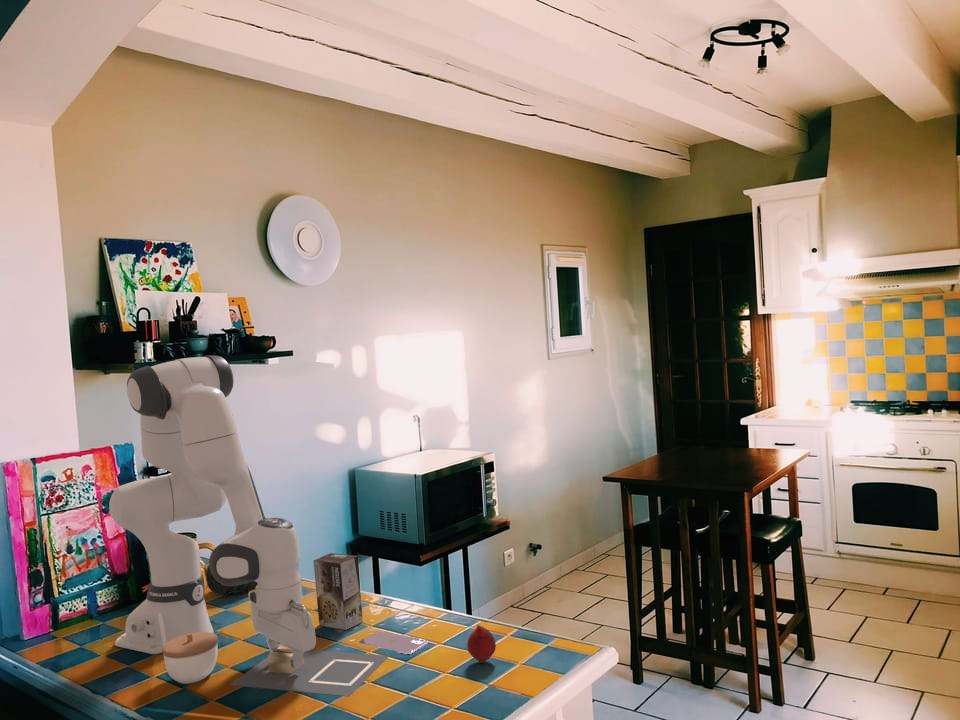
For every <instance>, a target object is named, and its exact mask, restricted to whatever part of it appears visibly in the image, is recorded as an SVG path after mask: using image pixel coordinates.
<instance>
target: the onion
mask: <svg viewBox="0 0 960 720" xmlns="http://www.w3.org/2000/svg"><path fill="white" fill-rule="evenodd" d="M466 645H467V646H466V647H467V651H468V653H469V654H470V656H471V657H472V658H473V659H475V660H476V661H478V662H479V663H481V664H482V663H485V662H486V661H488V660H489V659H490V658H491V657H492V655H494V654H495V651H496V649H497V647H496V646H497V645H496V639H495V637H494V635H493V634H492V633H491V632H490V630H489V629H487V628H485V627H484V626H483V625H481V624H480V623H477V624H476V628H475V629H473V631H472V632H471V633H470V634H469V635H468V638H467V644H466Z"/></svg>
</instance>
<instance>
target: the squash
mask: <svg viewBox="0 0 960 720" xmlns="http://www.w3.org/2000/svg"><path fill="white" fill-rule="evenodd" d="M205 581H206V584H207V587H208V589H209V590H210V591H211V592H212V593H213V594H216V595H221V596H226V595H229V594H230V593H231V594H236V593H242V592H249V591H252V590H254V589H256V587H258V584H257V582H255V581H252V582H250V583H246V584H242V585H237V586H225V585H223V584H221V583H219V582H218V581H217V580H216V579H215V578H214V577H213V575H212V573H211V571H210V567H209V565H208V566H207V568H206V574H205Z"/></svg>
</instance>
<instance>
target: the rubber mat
mask: <svg viewBox="0 0 960 720" xmlns="http://www.w3.org/2000/svg"><path fill="white" fill-rule="evenodd" d="M389 657H390V655H385V654H383V655H382V654H371V653H360V652H359V653H357V652H344V651H343V652H342V651H332V650H331V651H330V650H320V649H319V650H318V649H316V650H315V649H311V650H309V651H307V652H304V654H303V659H304V664H303V665H302V667H300V668H298V669H297V670H296V671H295V672H294V673H292V674H291V673H279V672H269V663H268V656H267V657H265V658H264V659H262V660H261V661H260V662H258V663H257V664H256V665H255V666H253V667H252V668H250V669H249V670H248V671H246V672H245V673H244V674H242V675H241V676H240V677H238V678H237V679H235V680H234V681H233V682H231V683H230V684H229V686H234V687H235V686H236V687H244V688H245V687H246V688H256V689H267V690H277V691H287V692H288V691H289V692H298V693H299V692H300V693H310V694H319V695H320V694H322V695H328V696H330V695H331V696H342V697H350V696H352V694H353V693H355V691H356V690H357V689H358V688H359V687H360V686H361V685H362V684H363V683H365V681H366V680H367V679H368V678H369V677H371V676H372V674H373V673H374V672H375V671H376V670H377V669H378V668H380V666H382V664H384V662H385V661H387V659H388V658H389Z"/></svg>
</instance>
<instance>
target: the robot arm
mask: <svg viewBox="0 0 960 720" xmlns="http://www.w3.org/2000/svg"><path fill="white" fill-rule="evenodd" d="M233 373H234V372H233V371H232V368H231V366H230V364H229V362H227V360H226V359H225V358H223V357H222V356H219V355H203V356H196V357H184V358H178V359H177V358H176V359H175V360H170V361H166V362H162V363H158V364H155V365H153V366H152V365H151V366H149V365H146V366H143V367H141V368H138V369H135V370H134V371H132V372H131V373H130V375H128V378H127V381H126V395H127V398H128V402H129V404H130V406H131V408H132V409H133V411H135V412H136V413H137V414H140V420H139V421H140V436H141V437H140V439H141V454H142V457H143V458H144V460H145V461H146V462H147V463H148V464H149V465H151V466H153V467H155V468H157V469H161V470H165V471H167V472H169V473H171V474H168V475H163V476H158V477H157V476H156V477H150V478H143V479H137V480H134V481H131V482H128V483H124V484H122V485H120V486H117V487H116V488H115V490H114V491H113V493H112V494H111V495H110V499H109V504H108V506H109V507H108V509H109V513H110V516H111V518H112V520H113V521H114V522H115V523H116V524H117V525H118V526H119V527H121V528H122V529H125V530H127V531H129V532H130V533H132V534H133V535H134V536H135V537H137V539H139V540H140V542H141V544H142V545H143V547H144V549H145V552H146V554H147V559H148V564H149V569H150V579H151V582H149V584H147V585H144V586H143V587H142V589H143V590H142V592H143V593H144V592H147V593H146V599H145V600H143V601H142V602H141V603H140V604H139V605H138V606H137V607H136V608H134V610H133V611H132V612H131V613H129V615H128V616H127V618H126V620H125V632H124V633H122V634H121V635H120V636H119V637H117V639H115V642H114V646H116V647H119V648H123V649H127V650H132V651H133V650H134V651H137V652H142V653H144V654H145V653H146V654H150V655H158V654H163V651H162V648H163V646H164V644H165V643H167V642H168V641H170V640H172V639H174V638H176V637H179V636H182V635H185V634H189V633H195V632H210V633H214V628H213V625H212V623H211V619H210V617H209V612H208V609H207V604H206V600H205V578H204V575H203V573H202V565H201V554H200V546H199V544H198V543H197V541H196V540H195V539H193V538H192V537H191V536H187V535H184V534H179V533H176V532H175V531H172V530H170V524H171V523H173V522H179V521H181V522H182V521H187V520H192V519H198V518H203V517H205V516H209V515H210V514H211V515H212V514H213V513H216V512H218V511H220V510H221V509H223V506H224V505H225V502H226V500H227V501H228V505H229V507H230V511H231V513H232V514H231V515H232V518H233V521H234V523H235V532H234V535H232V536H230V537H229V538H227V539H225V540H224V541H222V542H221V543H219V544H218V545H217V546H216V547H214V549H213V550H212V552H210V555H209V560H208V566H209V567H210V571H211V573H212V575H213V577H214V578H215V579H216V580H217V581H218V582H219V583H221V584H223V585H225V586H237V585H242V584H246V583H250V582H252V581H255V582H257V588H254V589H253V590H251V591H248V601H249V602H250V613H251V620H252V625H253V628H254V630H255V632H257V633H259V634H261V635H262V636H265V640H266V644H267V646H268V648H269V654H270V653H271V652H273V650H275V649H276V648H278V647H280V646H279V644H281V645H282V646H286V647H289V648H291V649H292V653H294V655H293V659H291V667H293V668H295V669H298V668H300V667H302V657H303V654H304V652H307V651H309V650H314V649H315V647H316V644H317V637H316V631H315V625H314V620H313V616H312V614H311V612H310V611H308V610H307V609H306V606H305V605H304V604H303V602H304V598H303V597H304V596H303V595H304V594H303V585H302V584H303V583H302V575H301V574H300V571H299V569H300V568H299V564H300V561H301V560H300V559H301V558H300V548H299V541H298V540H299V539H298V535H297V532H296V528H295V527H294V524H293V523H292V522H291V521H290V520H287V519H284V518H280V517H266V516H265V514H264V509H263V507H262V503H261V501H260V498H259V495H258V491H257V488H256V485H255V483H254V479H253V476H252V473H251V471H250V468H249V466H248V464H247V462H246V459H245V456H244V453H243V449H242V446H241V441H240V437H239V433H238V429H237V425H236V422H235V418H234V415H233V412H232V409H231V407H230V405H229V402H228V400H227V397H229V396H230V394H231V392H232V390H233V388H234V381H235V380H234V374H233Z"/></svg>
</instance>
